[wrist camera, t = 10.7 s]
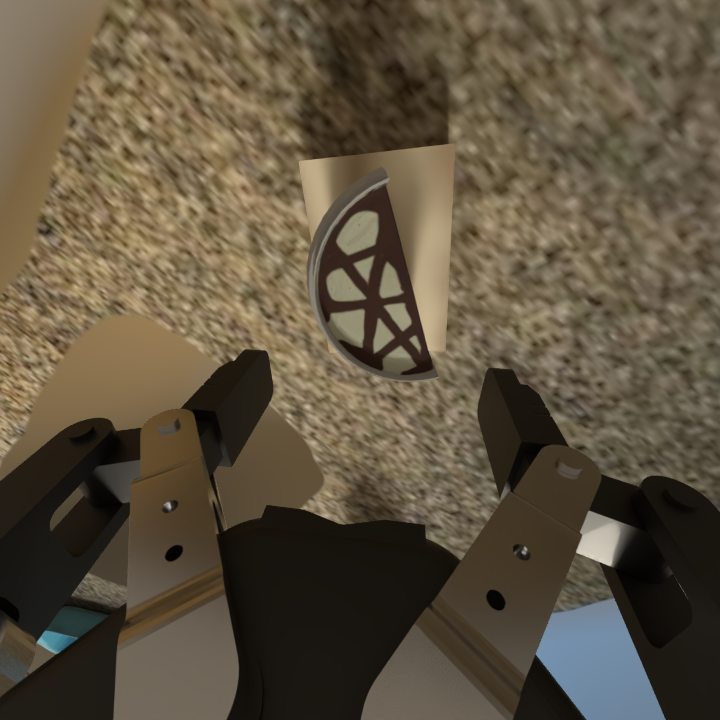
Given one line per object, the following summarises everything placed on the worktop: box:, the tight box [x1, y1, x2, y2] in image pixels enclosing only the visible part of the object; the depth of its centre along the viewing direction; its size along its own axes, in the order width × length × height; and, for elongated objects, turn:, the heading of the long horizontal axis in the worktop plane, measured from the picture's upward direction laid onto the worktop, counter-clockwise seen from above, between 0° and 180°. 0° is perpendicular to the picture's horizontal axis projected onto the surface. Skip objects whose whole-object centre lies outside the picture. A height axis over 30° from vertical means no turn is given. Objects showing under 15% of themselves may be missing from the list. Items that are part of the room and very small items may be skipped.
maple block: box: [299, 143, 455, 353], centre depth 29 cm, size 11×16×5 cm
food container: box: [307, 167, 439, 382], centre depth 22 cm, size 12×6×10 cm, turn 19°
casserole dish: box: [37, 606, 109, 654], centre depth 90 cm, size 37×22×7 cm, turn 77°
